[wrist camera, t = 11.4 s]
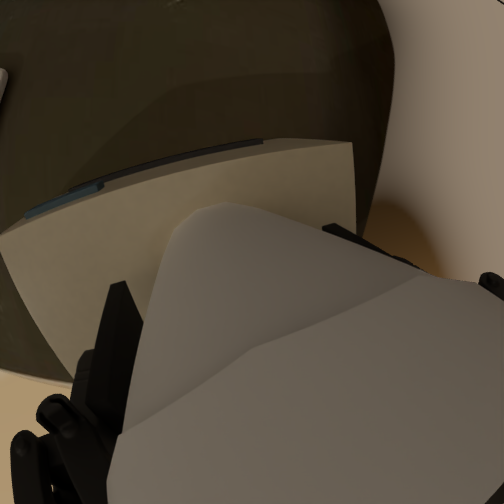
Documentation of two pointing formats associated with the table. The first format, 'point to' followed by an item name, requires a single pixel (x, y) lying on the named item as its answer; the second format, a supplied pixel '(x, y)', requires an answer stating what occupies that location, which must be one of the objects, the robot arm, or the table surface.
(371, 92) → the table surface
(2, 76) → the calculator
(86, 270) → the printer
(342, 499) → the foam cup
